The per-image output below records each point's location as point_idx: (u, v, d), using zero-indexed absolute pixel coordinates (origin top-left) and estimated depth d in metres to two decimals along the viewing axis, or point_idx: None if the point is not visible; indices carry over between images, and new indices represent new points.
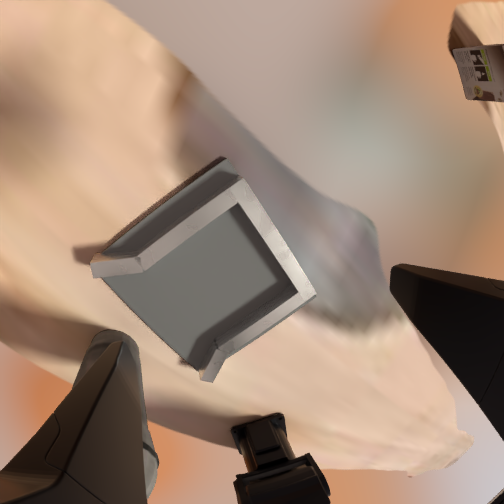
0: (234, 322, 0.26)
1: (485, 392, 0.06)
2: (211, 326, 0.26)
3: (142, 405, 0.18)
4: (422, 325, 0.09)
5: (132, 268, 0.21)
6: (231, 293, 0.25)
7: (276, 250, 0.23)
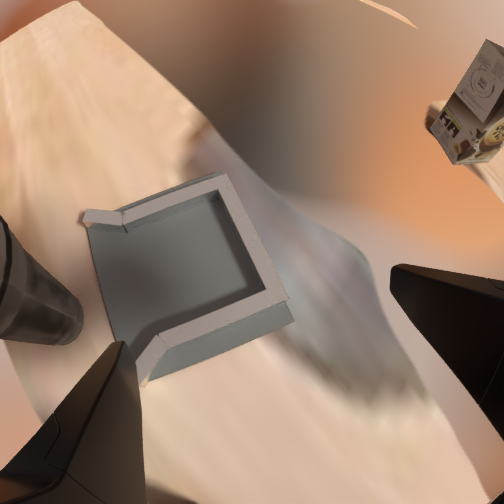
0: None
1: (485, 392, 0.06)
2: (163, 319, 0.22)
3: (41, 296, 0.15)
4: (422, 325, 0.09)
5: (115, 220, 0.23)
6: (194, 285, 0.23)
7: (245, 236, 0.23)
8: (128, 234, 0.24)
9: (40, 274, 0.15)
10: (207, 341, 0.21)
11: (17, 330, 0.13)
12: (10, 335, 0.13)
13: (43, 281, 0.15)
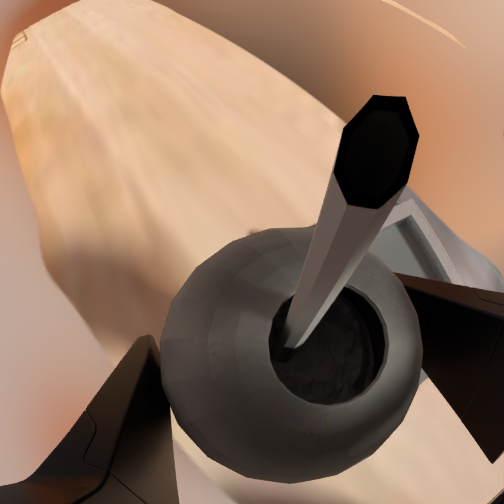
0: None
1: (467, 406, 0.06)
2: None
3: None
4: None
5: None
6: None
7: (443, 262, 0.21)
8: None
9: None
10: None
11: None
12: None
13: None
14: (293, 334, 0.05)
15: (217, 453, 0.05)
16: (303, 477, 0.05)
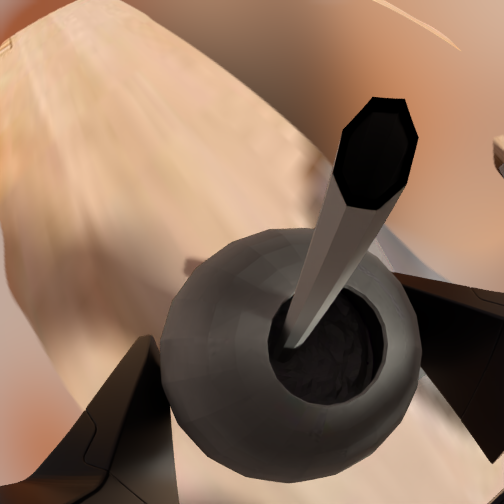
0: None
1: (467, 406, 0.06)
2: None
3: None
4: None
5: None
6: None
7: None
8: None
9: None
10: None
11: None
12: None
13: None
14: (292, 335, 0.05)
15: (217, 453, 0.05)
16: (302, 477, 0.05)
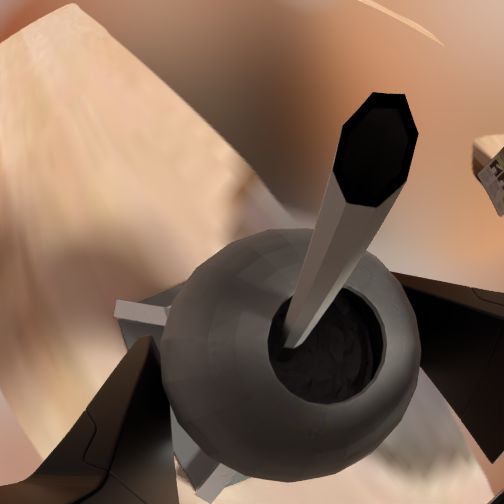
0: None
1: (467, 406, 0.06)
2: None
3: None
4: None
5: (157, 318, 0.19)
6: None
7: None
8: None
9: None
10: None
11: None
12: None
13: None
14: (292, 334, 0.05)
15: (217, 452, 0.05)
16: (302, 476, 0.05)
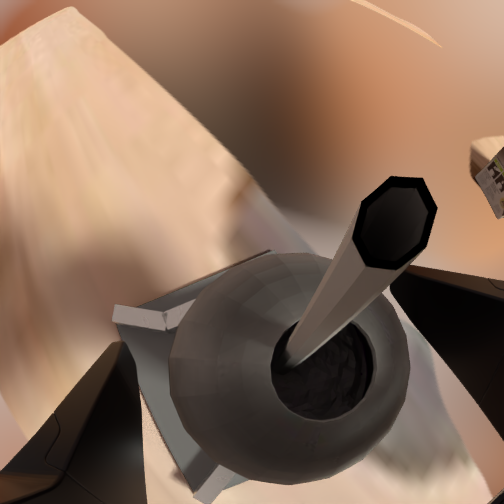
0: None
1: (485, 392, 0.06)
2: None
3: None
4: (422, 325, 0.09)
5: (155, 323, 0.19)
6: None
7: None
8: (171, 334, 0.20)
9: None
10: None
11: None
12: None
13: None
14: (292, 359, 0.06)
15: (223, 459, 0.06)
16: (299, 480, 0.06)
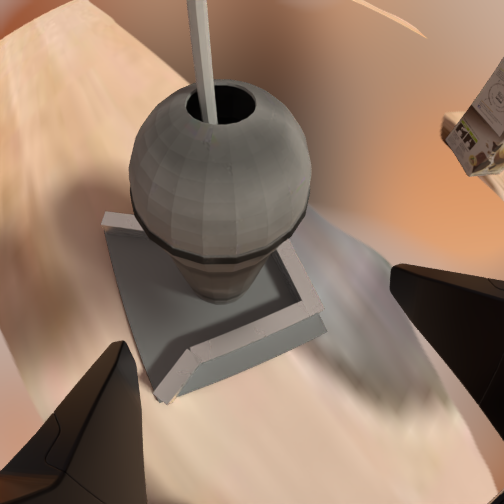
0: None
1: (485, 392, 0.06)
2: (191, 331, 0.21)
3: None
4: (422, 325, 0.09)
5: (137, 225, 0.22)
6: None
7: None
8: (151, 240, 0.23)
9: None
10: (239, 354, 0.20)
11: (259, 264, 0.14)
12: (249, 270, 0.14)
13: None
14: (202, 103, 0.09)
15: (151, 185, 0.09)
16: (204, 200, 0.08)
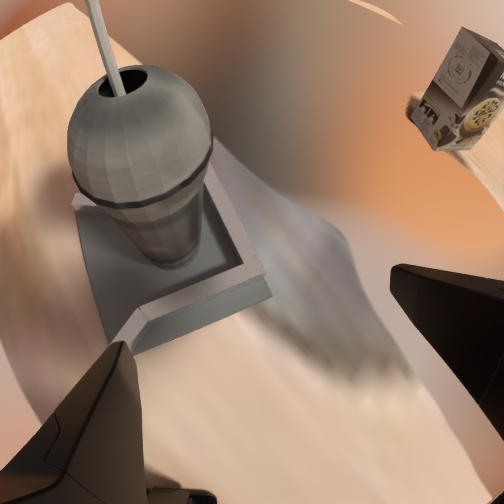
0: None
1: (485, 392, 0.06)
2: (145, 295, 0.22)
3: None
4: (422, 325, 0.09)
5: None
6: None
7: (224, 214, 0.24)
8: None
9: None
10: (187, 315, 0.22)
11: (181, 218, 0.16)
12: (171, 223, 0.16)
13: None
14: (111, 84, 0.10)
15: (74, 147, 0.10)
16: (105, 152, 0.10)
